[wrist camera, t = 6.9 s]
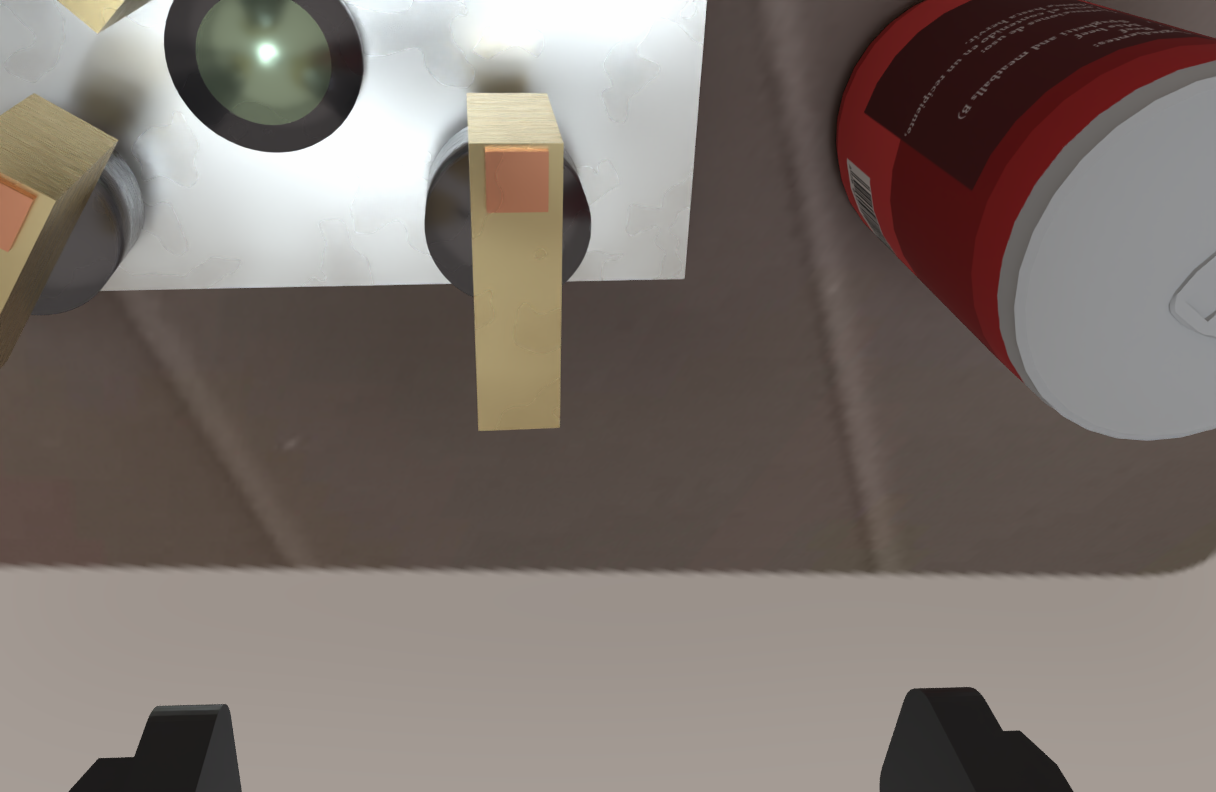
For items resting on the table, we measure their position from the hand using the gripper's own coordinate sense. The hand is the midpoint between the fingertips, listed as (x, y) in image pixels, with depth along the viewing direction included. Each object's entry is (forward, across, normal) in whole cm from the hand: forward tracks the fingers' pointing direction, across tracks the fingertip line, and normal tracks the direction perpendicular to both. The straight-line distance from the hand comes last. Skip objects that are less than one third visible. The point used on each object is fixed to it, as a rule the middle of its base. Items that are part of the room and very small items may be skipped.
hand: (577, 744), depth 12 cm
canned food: (+19, -12, -3) cm, 23 cm away
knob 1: (+17, +12, 0) cm, 21 cm away
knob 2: (+17, 0, -1) cm, 17 cm away
